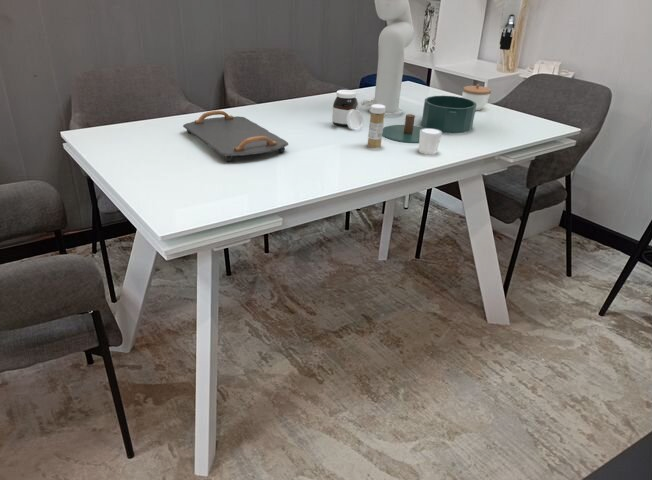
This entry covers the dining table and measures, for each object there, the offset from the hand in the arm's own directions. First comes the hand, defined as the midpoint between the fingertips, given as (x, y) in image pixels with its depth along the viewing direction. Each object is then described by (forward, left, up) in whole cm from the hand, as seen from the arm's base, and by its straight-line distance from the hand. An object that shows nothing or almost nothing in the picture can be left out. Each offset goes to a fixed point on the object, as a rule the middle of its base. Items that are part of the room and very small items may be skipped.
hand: (504, 47), depth 184 cm
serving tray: (-85, -36, -28) cm, 96 cm away
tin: (-15, -2, -28) cm, 31 cm away
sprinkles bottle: (-40, -31, -28) cm, 58 cm away
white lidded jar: (-2, +27, -28) cm, 39 cm away
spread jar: (-50, -10, -28) cm, 58 cm away
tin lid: (-29, -16, -27) cm, 43 cm away
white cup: (-23, -32, -28) cm, 48 cm away
